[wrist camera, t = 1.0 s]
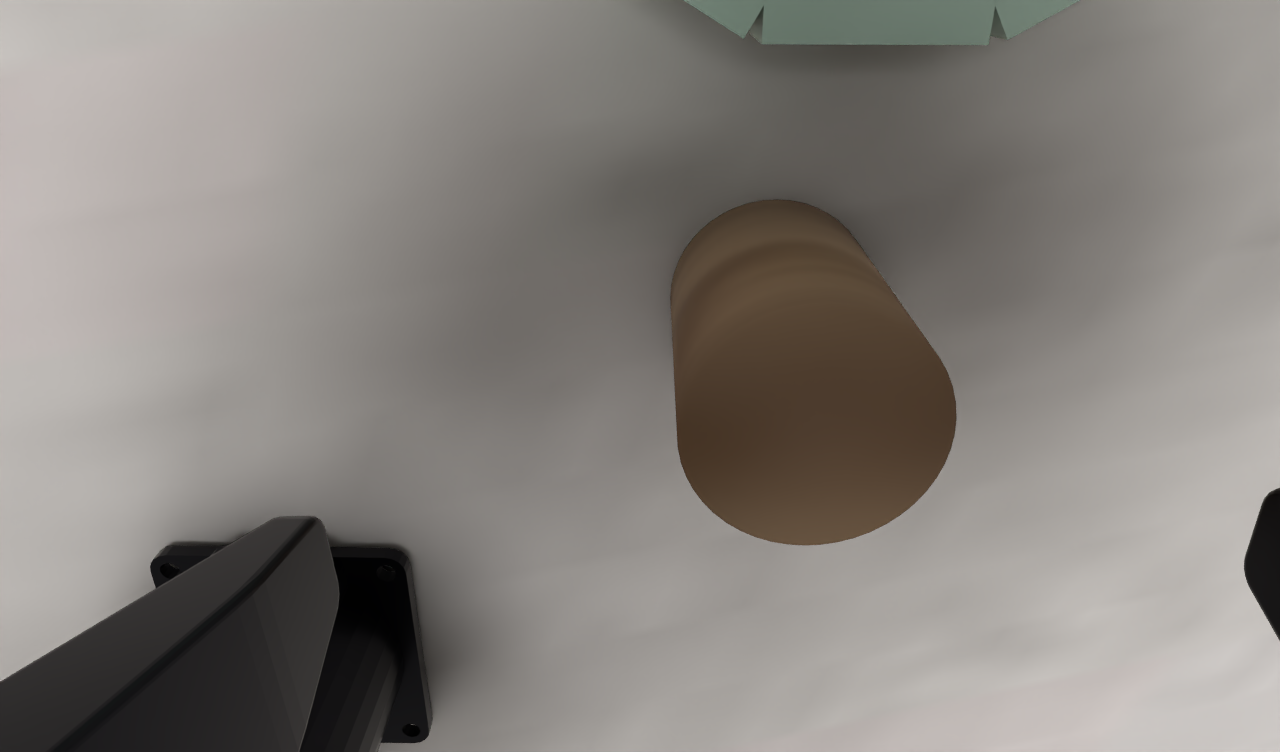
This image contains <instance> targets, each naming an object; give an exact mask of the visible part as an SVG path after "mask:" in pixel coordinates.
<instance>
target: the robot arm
mask: <svg viewBox="0 0 1280 752" xmlns="http://www.w3.org/2000/svg"><path fill="white" fill-rule="evenodd" d="M169 563H170V564H174V565H175V566H177V567H178V568H179V569H176V568H174V567H172V566H171V565H170V564H169ZM385 565H386V566H390V567H392V568H393V569H395V571H393V572H391V571H387V570H385V569H384V568H383V567H382V566H385ZM150 569H151V574H152V577H153V580H154V584H155V587H156V589H154V590H153V591H151V592H149V593H148V594H146V595H144V596H143V597H141V598H139V599H138V600H136V601H134V602H133V603H131V604H129V605H128V606H126V607H124V608H123V609H121V610H119V611H118V612H116V613H114V614H113V615H111V616H109V617H108V618H106V619H104V620H102V621H101V622H99V623H97V624H96V625H94V626H92V627H91V628H89V629H87V630H86V631H84V632H82V633H81V634H79V635H77V636H76V637H74V638H72V639H71V640H69V641H67V642H66V643H64V644H62V645H61V646H59V647H57V648H56V649H54V650H52V651H51V652H49V653H47V654H46V655H44V656H42V657H41V658H39V659H37V660H36V661H34V662H32V663H31V664H29V665H27V666H26V667H24V668H22V669H21V670H19V671H17V672H16V673H14V674H12V675H11V676H9V677H7V678H6V679H4V680H2V681H0V752H378V749H379V746H380V743H417V742H421V741H423V740H425V739H426V738H427V737H428V735H429V732H430V728H431V725H432V713H431V706H430V699H429V692H428V685H427V678H426V671H425V664H424V657H423V650H422V643H421V636H420V629H419V622H418V615H417V608H416V601H415V594H414V587H413V580H412V573H411V565H410V562H409V559H408V557H407V556H406V555H405V554H404V553H403V552H401V551H399V550H397V549H392V548H357V547H330V546H329V542H328V537H327V533H326V530H325V527H324V525H323V523H322V521H321V520H320V519H318V518H317V517H315V516H287V517H277V518H273V519H271V520H270V521H268V522H266V523H265V524H263V525H261V526H260V527H258V528H256V529H255V530H253V531H251V532H250V533H248V534H246V535H245V536H243V537H241V538H240V539H238V540H236V541H235V542H233V543H231V544H230V545H228V546H174V545H173V546H167V547H165V548H163V549H162V550H161V551H160V552H159V553H158V554H157V556H156V557H155V558H154V559H153V561H152V563H151V565H150ZM1244 571H1245V577H1246V580H1247V583H1248V585H1249V587H1250V589H1251V591H1252V593H1253V595H1254V596H1255V598H1256V600H1257V602H1258V603H1259V605H1260V607H1261V609H1262V610H1263V612H1264V614H1265V616H1266V617H1267V619H1268V621H1269V623H1270V624H1271V626H1272V628H1273V630H1274V632H1275V633H1276V635H1277V637H1278V639H1279V640H1280V488H1277V489H1275V490H1273V491H1271V492H1270V493H1269V494H1268V495H1267V496H1266V497H1265V498H1264V501H1263V503H1262V506H1261V509H1260V512H1259V515H1258V518H1257V521H1256V524H1255V527H1254V530H1253V533H1252V537H1251V540H1250V543H1249V546H1248V549H1247V552H1246V555H1245V560H1244ZM411 724H415V725H411Z"/></svg>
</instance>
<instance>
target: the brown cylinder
mask: <svg viewBox="0 0 1280 752" xmlns="http://www.w3.org/2000/svg"><path fill="white" fill-rule="evenodd" d="M670 300H671V320H672V341H673V361H674V382H675V402H676V422H677V442H678V451H679V456H680V460H681V464H682V467H683V469H684V472H685V475H686V477H687V479H688V481H689V483H690V484H691V486H692V488H693V490H694V491H695V492H696V494H697V495H698V496H699V498H700V499H701V500H702V502H703V503H704V504H705V505H706V506H707V507H708V508H709V509H710V510H711V511H712V512H713V513H714V514H716V515H717V516H718V517H720V518H721V519H722V520H724V521H725V522H726V523H728V524H730V525H731V526H733V527H735V528H737V529H738V530H740V531H742V532H745V533H747V534H750V535H752V536H754V537H757V538H761V539H764V540H768V541H771V542H777V543H783V544H792V545H821V544H828V543H835V542H840V541H844V540H848V539H852V538H855V537H858V536H861V535H863V534H866V533H869V532H871V531H873V530H875V529H877V528H879V527H881V526H883V525H885V524H887V523H889V522H890V521H892V520H893V519H895V518H896V517H898V516H900V515H901V514H902V513H903V512H905V511H906V510H907V509H908V508H910V507H911V506H912V505H913V504H914V503H915V502H916V501H917V500H918V499H919V498H920V497H921V496H922V495H923V494H924V493H925V492H926V491H927V490H928V488H929V487H930V486H931V485H932V483H933V482H934V481H935V479H936V478H937V476H938V474H939V473H940V471H941V469H942V468H943V466H944V464H945V462H946V459H947V457H948V454H949V452H950V450H951V446H952V442H953V438H954V434H955V426H956V401H955V396H954V391H953V386H952V383H951V381H950V378H949V375H948V373H947V370H946V369H945V367H944V365H943V363H942V362H941V360H940V358H939V356H938V355H937V354H936V352H935V351H934V349H933V348H932V347H931V345H930V344H929V342H928V341H927V340H926V338H925V337H924V335H923V334H922V332H921V331H920V330H919V328H918V327H917V325H916V324H915V323H914V321H913V320H912V318H911V317H910V316H909V314H908V313H907V311H906V310H905V309H904V307H903V306H902V304H901V303H900V301H899V300H898V299H897V297H896V296H895V294H894V293H893V292H892V290H891V289H890V287H889V286H888V285H887V283H886V282H885V280H884V279H883V277H882V276H881V275H880V273H879V272H878V270H877V269H876V268H875V266H874V265H873V263H872V262H871V261H870V259H869V258H868V256H867V255H866V254H865V252H864V251H863V249H862V248H861V246H860V245H859V244H858V242H857V241H856V239H855V238H854V237H853V236H852V234H851V233H850V232H849V231H848V229H846V228H845V227H844V226H843V225H842V224H841V223H840V222H839V221H838V220H836V219H835V218H834V217H832V216H831V215H829V214H828V213H826V212H824V211H822V210H820V209H818V208H816V207H813V206H810V205H807V204H805V203H800V202H795V201H790V200H763V201H757V202H752V203H748V204H745V205H742V206H739V207H736V208H734V209H731V210H729V211H727V212H725V213H723V214H722V215H720V216H718V217H717V218H715V219H714V220H712V221H711V222H710V223H708V224H707V225H706V226H705V227H704V228H702V229H701V230H700V231H699V232H698V234H697V235H696V236H695V237H694V238H693V239H692V240H691V242H690V243H689V244H688V246H687V247H686V249H685V250H684V252H683V254H682V256H681V258H680V259H679V261H678V264H677V267H676V269H675V272H674V276H673V280H672V285H671V296H670Z"/></svg>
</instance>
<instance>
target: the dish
mask: <svg viewBox="0 0 1280 752" xmlns="http://www.w3.org/2000/svg"><path fill="white" fill-rule="evenodd" d="M683 1H685V2H687V3H688V4H690V5H691V6H693V7H694V8H696V9H698V10H699V11H701V12H702V13H704V14H705V15H707V16H708V17H710V18H712V19H713V20H715V21H716V22H718V23H719V24H721V25H723V26H724V27H726V28H727V29H729V30H730V31H732V32H733V33H735V34H737V35H738V36H740V37H741V38H743V39H744V38H745V36H746V34H747V33H748V31H749V29H750V35H751V36H752V37H753V38H755V39H756V40H757V41H758V42H759V43H761V44H801V45H989V40H990V36H993V37H997V38H1001V39H1005V40H1009V39H1011V38H1012V37H1014V36H1016V35H1018V34H1020V33H1022V32H1023V31H1025V30H1027V29H1029V28H1031V27H1032V26H1034V25H1036V24H1038V23H1040V22H1042V21H1043V20H1045V19H1047V18H1049V17H1051V16H1052V15H1054V14H1056V13H1058V12H1060V11H1061V10H1063V9H1065V8H1067V7H1069V6H1071V5H1072V4H1074V3H1076V2H1078V1H1080V0H683Z"/></svg>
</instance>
